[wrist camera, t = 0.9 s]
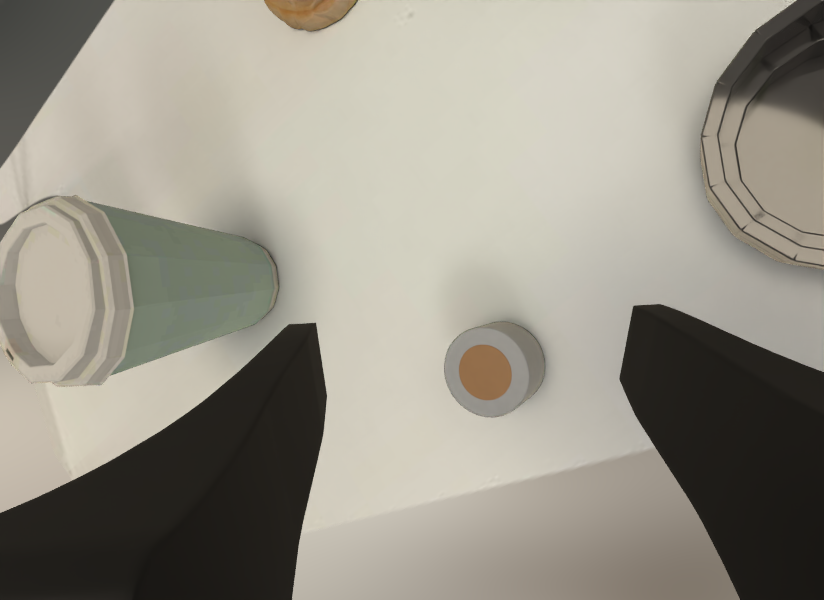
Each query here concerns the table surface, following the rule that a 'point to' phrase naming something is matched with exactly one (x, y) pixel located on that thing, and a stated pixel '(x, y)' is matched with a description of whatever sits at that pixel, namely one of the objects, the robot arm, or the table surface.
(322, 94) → the table surface
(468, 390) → the tape
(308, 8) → the statue
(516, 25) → the table surface
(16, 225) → the disposable coffee cup
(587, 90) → the table surface
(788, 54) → the bowl
